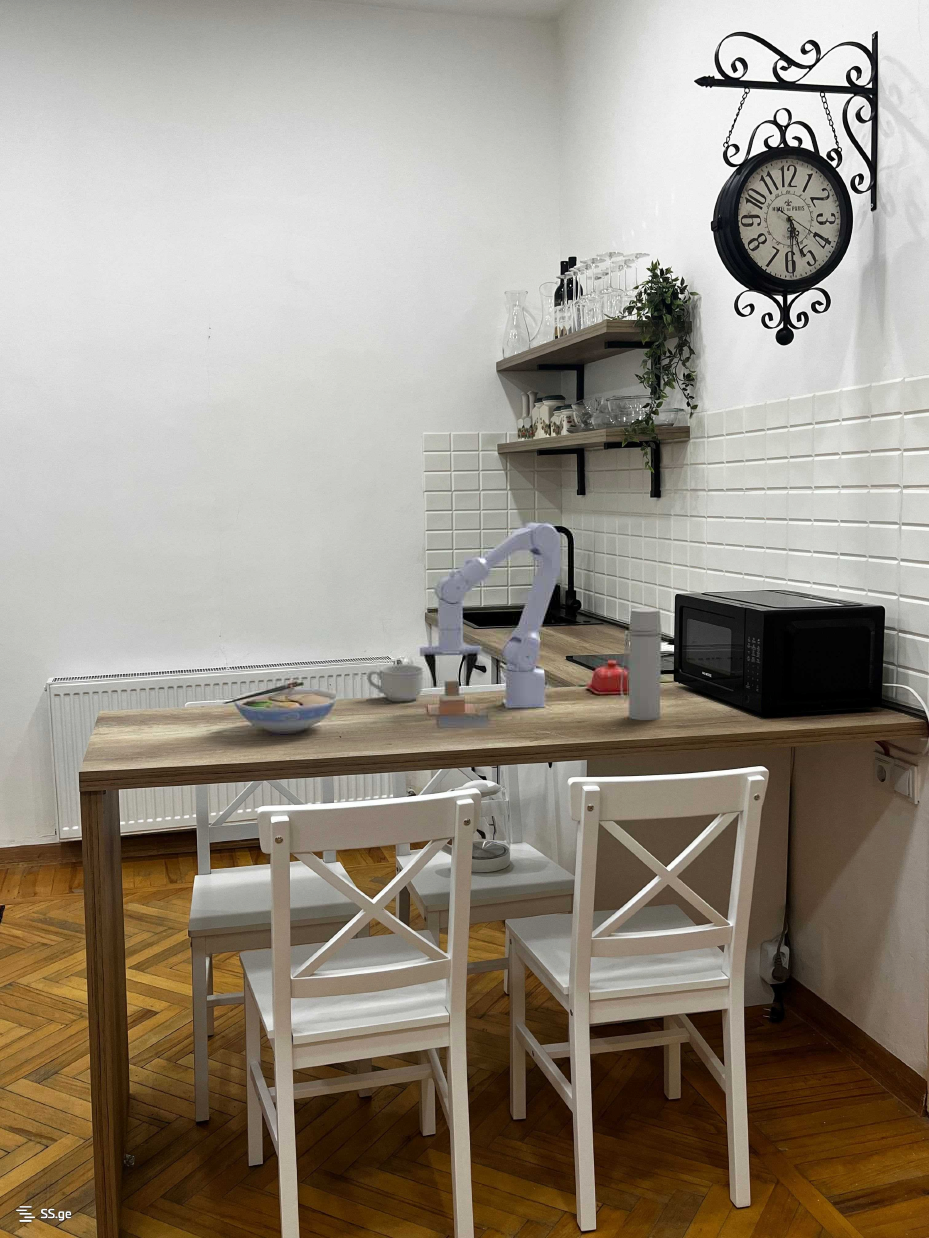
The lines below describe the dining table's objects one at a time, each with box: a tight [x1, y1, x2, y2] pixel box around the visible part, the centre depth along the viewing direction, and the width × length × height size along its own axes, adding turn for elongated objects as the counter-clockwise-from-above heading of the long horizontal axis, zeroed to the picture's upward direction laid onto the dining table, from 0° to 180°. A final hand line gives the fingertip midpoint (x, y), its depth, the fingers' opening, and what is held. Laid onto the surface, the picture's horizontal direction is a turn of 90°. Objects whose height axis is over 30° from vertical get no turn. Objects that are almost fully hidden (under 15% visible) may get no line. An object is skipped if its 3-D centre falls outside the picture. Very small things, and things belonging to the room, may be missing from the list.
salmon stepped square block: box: [426, 693, 478, 717], centre depth 253 cm, size 11×11×4 cm
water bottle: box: [620, 607, 663, 721], centre depth 241 cm, size 9×8×25 cm
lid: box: [439, 680, 466, 701], centre depth 251 cm, size 5×5×4 cm
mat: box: [435, 714, 493, 729], centre depth 241 cm, size 12×12×1 cm
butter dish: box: [585, 659, 629, 696], centre depth 274 cm, size 12×12×8 cm
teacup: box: [366, 664, 424, 703], centre depth 268 cm, size 14×11×8 cm
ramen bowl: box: [222, 681, 339, 735], centre depth 234 cm, size 25×23×8 cm
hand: (451, 685), depth 253 cm, fingers open, 7 cm apart
